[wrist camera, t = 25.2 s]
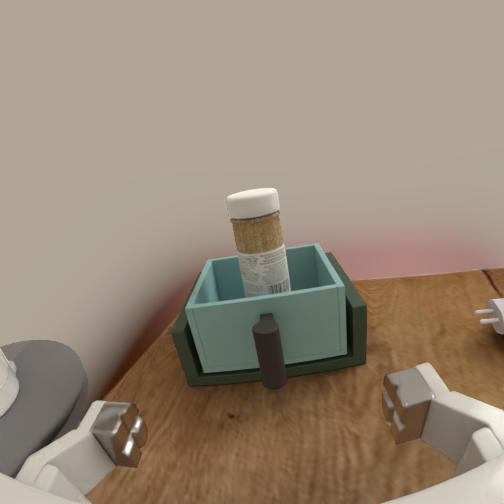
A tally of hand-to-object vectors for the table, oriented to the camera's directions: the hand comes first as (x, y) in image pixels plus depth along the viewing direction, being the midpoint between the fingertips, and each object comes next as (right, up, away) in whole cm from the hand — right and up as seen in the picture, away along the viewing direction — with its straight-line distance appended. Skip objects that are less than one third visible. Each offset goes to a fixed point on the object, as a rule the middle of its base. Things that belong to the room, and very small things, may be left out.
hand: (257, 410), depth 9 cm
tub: (+2, -4, +21) cm, 21 cm away
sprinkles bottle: (+2, -3, +22) cm, 23 cm away
